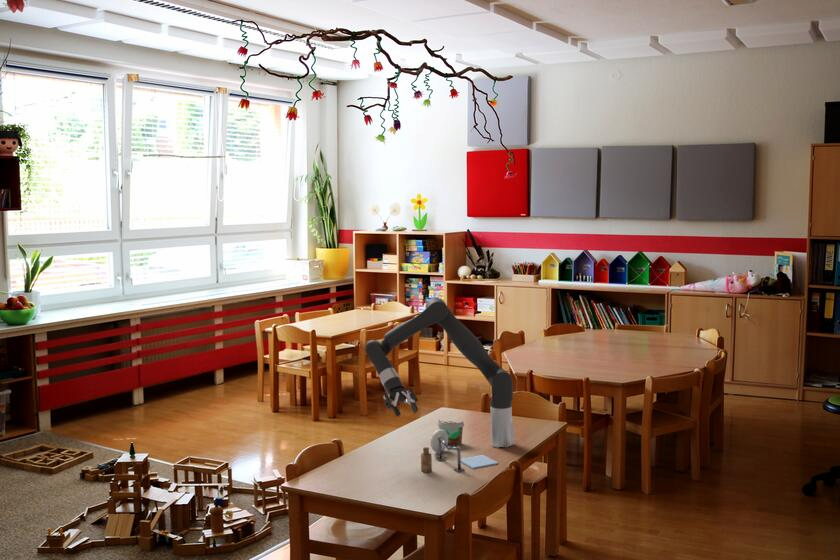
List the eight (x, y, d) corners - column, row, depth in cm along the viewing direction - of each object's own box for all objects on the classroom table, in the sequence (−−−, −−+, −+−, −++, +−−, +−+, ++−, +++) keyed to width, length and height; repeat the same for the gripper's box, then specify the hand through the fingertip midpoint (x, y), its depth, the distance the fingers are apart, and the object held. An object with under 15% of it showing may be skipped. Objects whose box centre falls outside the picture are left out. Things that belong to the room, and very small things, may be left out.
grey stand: (441, 458, 330) (441, 435, 329) (464, 471, 313) (463, 446, 312) (435, 459, 328) (434, 436, 327) (457, 472, 311) (457, 448, 310)
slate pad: (482, 456, 331) (482, 454, 331) (498, 463, 320) (498, 462, 320) (457, 460, 325) (457, 459, 325) (472, 469, 315) (472, 467, 315)
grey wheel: (435, 456, 333) (434, 432, 332) (429, 454, 335) (428, 431, 334) (450, 450, 340) (449, 427, 339) (443, 448, 342) (443, 426, 342)
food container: (433, 445, 348) (433, 422, 347) (438, 441, 354) (438, 419, 353) (460, 447, 343) (459, 424, 343) (464, 443, 349) (464, 421, 348)
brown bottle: (428, 469, 316) (428, 445, 315) (433, 472, 313) (433, 448, 312) (419, 470, 314) (418, 447, 314) (424, 473, 311) (423, 450, 310)
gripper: (380, 378, 322) (397, 411, 314) (408, 373, 331) (425, 405, 323) (373, 389, 327) (389, 421, 319) (401, 384, 336) (418, 415, 327)
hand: (407, 413), depth 321 cm, fingers open, 8 cm apart
